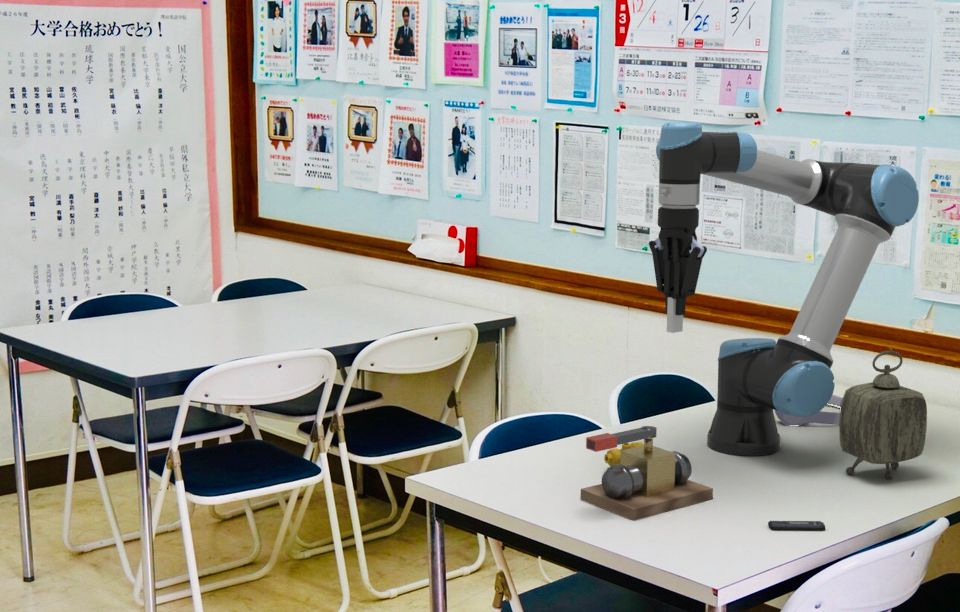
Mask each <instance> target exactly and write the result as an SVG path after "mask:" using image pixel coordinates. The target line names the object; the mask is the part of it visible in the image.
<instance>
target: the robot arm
mask: <svg viewBox="0 0 960 612" xmlns="http://www.w3.org/2000/svg"><path fill="white" fill-rule="evenodd" d="M702 127H703V126H702V124H701V123H700V122H694V121H693V122H692V121H691V122H690V121H688V122H687V121H686V122H685V121H684V122H683V121H681V122H679V121H678V122H677V121H670V122H665V123H664V124H663V125H662V126H661V130H660V136H659V138H658V140H657V143H656V147H655V153H656V154H655V155H656V157H657V160H658V161H659V164H658V165H659V167H658V168H659V170H658V173H659V175H658V204H659V205H661V206H659V207H658V209H657V226H658V228H660V229H659V232H658V237H657V238H655V239H654V240H649V242H648V246H649V249H650V251H651V253H652V255H651V256H652V261H653V267H654V268H653V269H654V275H655V282H656V289H657V292H658V293H662V294H664V297H665V310H664V311H665V313H666V332H667V333H671V334H674V333H680V332H683V329H684V328H683V326H684V324H683V323H684V316H685V314H686V305H687V304H686V303H687V301H686V300H687V298H688V297H691V296H694V295H695V294H696V290H697V285H698V280H699V276H700V272H701V267H702V263H703V259H704V257H705V256H706V254H707V251H708V248H707V246H704V245H703V246H702V245H701V244H700V243H699V242H698V236H697V234H696V230H697V228H698V227H699V224H700V223H699V221H700V209H699V208H698V207H697V206H699V205H700V190H701V187H700V186H701V175H705V176H707V177H712V178H715V179H716V178H717V179H721V180H723V181H728V182H732V183H736V184H740V185H742V186H748V187H749V188H750V187H751V188H754V189H758V190H763V191H765V192H766V191H767V192H770V193H774V194H778V195H782V196H785V197H790V199H791V200H792V201H793V202H794V203H795V204H797V205H802V206H804V207H807V208H811V209H813V210H817V211H819V212H821V213H825V214H828V215H830V216H833V217H834V220H835V221H836V225H837V229H836V232H835V233H834V236H833V238H832V240H831V242H830V244H829V247H828V249H827V251H826V253H825V255H824V258H823V260H822V262H821V264H820V265H819V269H818V271H817V272H816V275H815V277H814V280H813V282H812V283H811V286H810V288H809V290H808V293H807V294H806V297H805V299H804V301H803V303H802V305H801V307H800V310H799V312H798V314H797V316H796V319H795V320H794V322H793V325H792V327H791V328H790V329H791V330H790V331H789V333H787V334H785V335H783V336H780V337H778V340H777V341H776V340H775V339H774V338H766V337H764V338H763V337H762V338H761V337H749V338H747V337H746V338H735V339H734V338H733V339H729V340H727V339H726V340H724V341H722V343H721V344H720V346H719V352H718V358H717V361H718V364H717V365H718V366H717V400H716V411H715V413H714V416H713V418H712V421H711V425H710V428H709V430H708V432H707V438H706V439H707V440H706V441H707V443H706V444H707V446H708V447H709V448H711V449H713V450H715V451H717V452H721V453H725V454H730V455H737V456H766V455H771V454H774V453H777V452H779V451H780V449H781V436H780V434H779V432H778V426H777V422H776V417H775V415H774V414H775V412H774V410H777V411H779V412H781V413H783V414H785V415H792V416H796V417H809V416H811V415H813V414H816V413H818V412H819V411H822V410H823V409H825V407H826V406H828V405H827V403H828V402H829V400H830V399H831V397H832V395H834V392H835V385H836V384H835V382H834V380H835V376H834V375H835V374H834V373H833V371H832V370H831V369H832V366H833V364H834V359H833V357H832V354H831V349H832V347H833V345H834V343H835V341H836V338H837V337H838V335H839V332H840V329H841V327H842V325H843V323H844V322H845V319H846V317H847V315H848V312H849V310H850V308H851V306H852V304H853V301H854V299H855V297H856V294H857V293H858V291H859V289H860V286H861V283H862V282H863V280H864V278H865V276H866V273H867V270H868V269H869V266H870V265H871V261H872V260H873V258H874V256H875V253H876V251H877V249H878V247H879V245H880V244H882V243H884V242H887V241H889V240H890V239H891V237H892V235H893V233H894V231H895V229H896V227H900V226H904V225H905V224H907V223H909V222H910V221H912V219H913V218H914V217H915V215H916V213H917V210H918V206H919V201H920V197H919V196H920V195H919V194H920V193H919V190H918V189H917V186H918V185H917V182H916V181H915V178H914V177H913V176H912V174H911V173H910V172H909V171H907V170H906V169H905V168H902V167H899V166H893V165H891V164H874V163H873V164H871V163H857V162H833V161H832V162H829V161H828V162H826V161H819V160H815V159H811V158H806V159H803V160H801V161H800V160H796V159H792V158H789V157H786V156H782V155H778V154H774V153H770V152H768V151H764V150H763V151H762V150H759V149H758V145H757V143H756V140H755V139H754V137H753V136H752V135H751V134H750V133H747V132H738V131H733V132H723V131H722V132H719V131H703V128H702Z"/></svg>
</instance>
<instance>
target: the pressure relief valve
mask: <svg viewBox="0 0 960 612" xmlns="http://www.w3.org/2000/svg"><path fill="white" fill-rule="evenodd" d="M643 445H644V442H643V441H633V442H629V443H624V444H621V448H620V449H619V448H611V449H607V452H606V454H604V455H603V456H604V457H603V458H604V459H603V460H604V462H605V464H608V466H609V467H610V466H613V465H617V464H620V463H621V450H626V449H630V448H635V447H639V446H643Z"/></svg>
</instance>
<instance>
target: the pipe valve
mask: <svg viewBox="0 0 960 612" xmlns="http://www.w3.org/2000/svg"><path fill="white" fill-rule="evenodd" d="M653 443H654V438H647V439H643V444H644V445H643V446H639V447H635V448H630V449H626V450H621V463H620V464H617V465H613V466H609V467H608V468H607V469H606V471H605V472H603V474H602V475H601V476H602V477H601V484H602V487H603V490H604V492H605V494H606V495H607V496H608V497H610V498H618V497H619V498H622V499H628V498H630V497H631V495H632V494H633V493H637V494H639V495H642V496H645V497H650V496H653V495H657V494H661V493H665V492H669V491H672V490H674V483H675V484H678V485H681V484H684V483H686V481H687V480H689V479H690V478H691V476H692V472H693V470H692V469H693V468H692V463H691V460H690V459H689V458H688V457H687V456H686V455H685V454H683V453H681V452H678V451H675V450H674V451H670V450H667V449H664V448H661V447H657V446H655V445H654V444H653Z"/></svg>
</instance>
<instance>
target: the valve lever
mask: <svg viewBox="0 0 960 612" xmlns="http://www.w3.org/2000/svg"><path fill="white" fill-rule="evenodd" d="M656 437H657V427H655V426H653V425H652V426H651V425H642V426H641V427H638V428H632V429H629V430H624V431H620V432H615V433H609V432H606V433H602V434H597V435H591V436H587V437H586V438H585V448H586V449H587V450H589V451H593V452H595V453H597V452H601V451H608V450H610V449H616V448H618V445H619V446H620V445H622V444H624V443H634V442H639V441H642V440H644V439H647V438H653V439H655V438H656Z"/></svg>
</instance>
